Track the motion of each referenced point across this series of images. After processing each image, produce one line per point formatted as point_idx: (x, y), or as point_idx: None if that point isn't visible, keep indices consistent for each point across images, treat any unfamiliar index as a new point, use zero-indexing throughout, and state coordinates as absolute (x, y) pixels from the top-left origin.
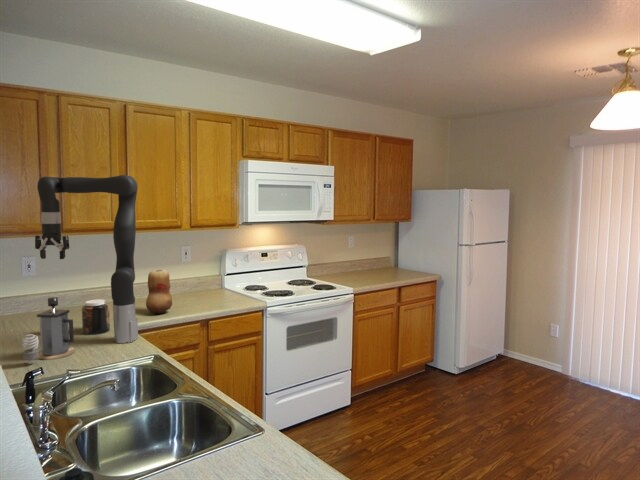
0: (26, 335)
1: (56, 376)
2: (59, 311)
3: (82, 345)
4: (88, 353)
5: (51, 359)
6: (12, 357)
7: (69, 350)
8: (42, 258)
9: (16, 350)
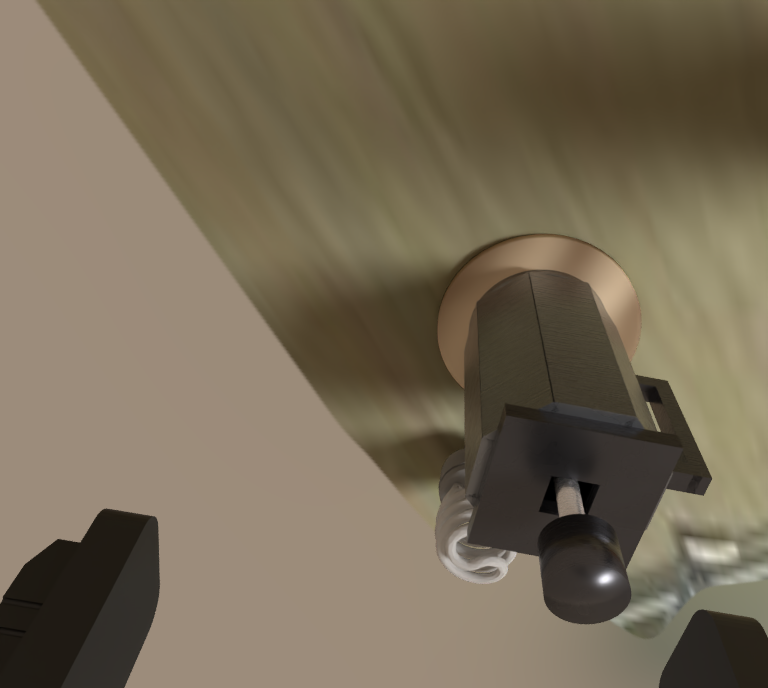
0: (461, 568)
1: (646, 583)
2: (610, 481)
3: (657, 185)
4: (730, 338)
5: None
6: (323, 354)
7: (613, 316)
8: (146, 612)
9: (271, 244)
